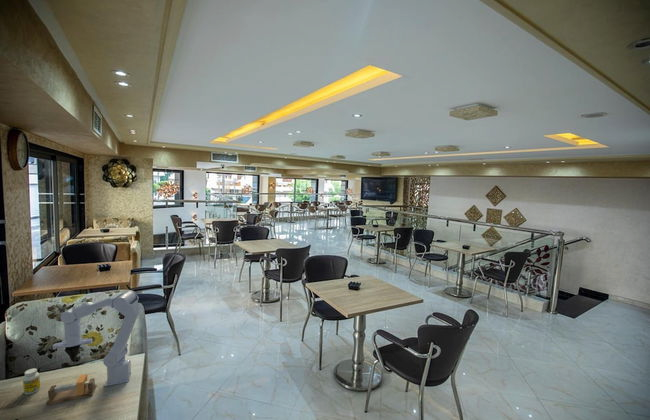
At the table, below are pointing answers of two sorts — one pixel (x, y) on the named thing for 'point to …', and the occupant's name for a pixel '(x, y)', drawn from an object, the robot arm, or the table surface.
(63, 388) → the rod
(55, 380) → the table surface
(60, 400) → the stand
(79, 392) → the collar
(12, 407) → the table surface
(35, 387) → the supplement bottle
